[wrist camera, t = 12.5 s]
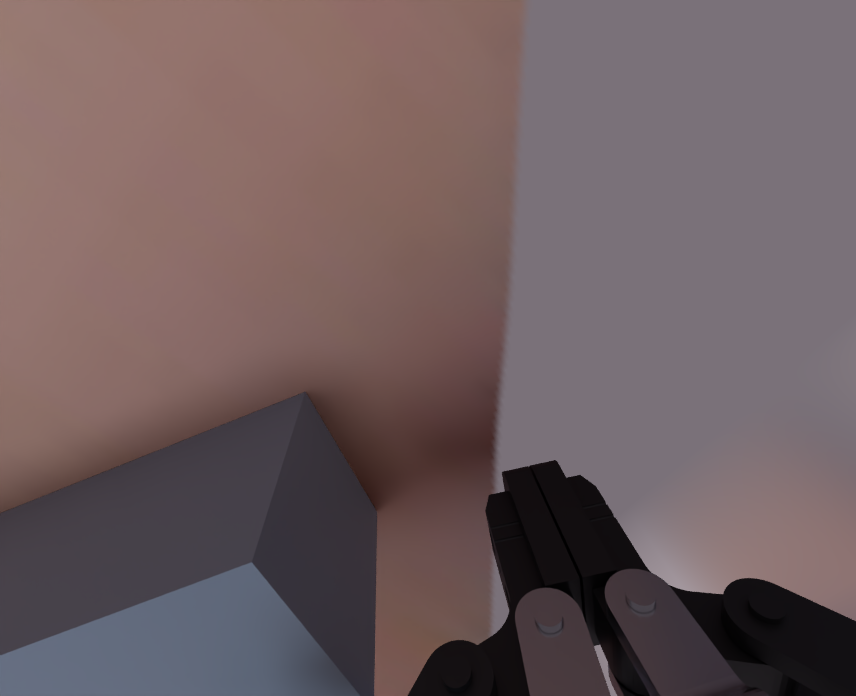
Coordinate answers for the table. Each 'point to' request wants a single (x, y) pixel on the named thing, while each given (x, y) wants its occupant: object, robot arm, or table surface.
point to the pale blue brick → (197, 571)
